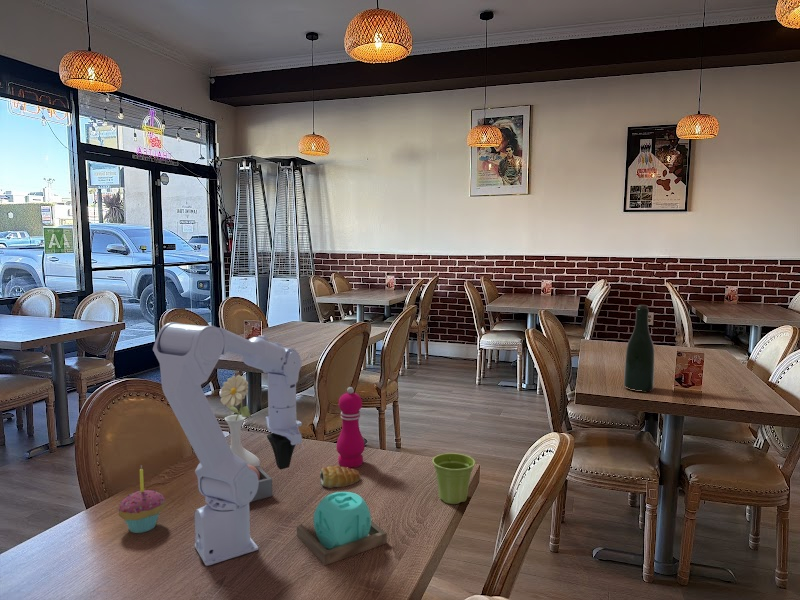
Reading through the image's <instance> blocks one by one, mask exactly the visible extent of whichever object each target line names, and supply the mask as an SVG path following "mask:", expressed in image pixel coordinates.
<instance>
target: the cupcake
mask: <svg viewBox="0 0 800 600" xmlns="http://www.w3.org/2000/svg"><path fill="white" fill-rule="evenodd" d="M144 482H145V481H144V469H143V465H142V464H141V465H140V469H139V488H140V489H139V490H137V491H134V492H132V493H130V494H128V495H127V496H125V497H124V498H123V500H120V502H119V504H118V507H117V509H118V517H120V518H121V519H122V520H124V522H126V524H127V527H128V531H129V532H131V533H134V534H142V533H145V532H149V531H151V530H153V529H154V528H155V527H156V525H157V521H158V519H159V518H158V517H159V515H160V513H161V512H162V511H163V510H164V509H165V507H166V505H167V502H166V497H165V496H164V495H163V494H162V493H160V492H159V491H156V490H153V489H145V486H144V485H145V483H144Z"/></svg>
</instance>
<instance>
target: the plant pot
mask: <svg viewBox="0 0 800 600" xmlns="http://www.w3.org/2000/svg"><path fill="white" fill-rule="evenodd" d="M431 462H432V465H433V466H434V470H435V473H436V481H437V490H438V497H439V498H438V499H439V500H441V501H443V502H444V503H446V504H451V505H458V504H460V503H465V502H466V501H467V499H468V493H469V488H470V487H469V486H470V481H471V480H470V479H471V475H472V471H473V468H474V466H475V465H476V460H475V459H474V458H472V456H469V455H466V454H462V453H455V452H447V453H440V454H438V455H436V456H435V455H434V457H432V461H431Z"/></svg>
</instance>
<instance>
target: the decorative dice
mask: <svg viewBox="0 0 800 600" xmlns="http://www.w3.org/2000/svg"><path fill="white" fill-rule="evenodd" d="M371 521H372V517H371V512H370V508H369V506H368V504H367V503H366V501H365V500H364V498H363V497H362V496H360V495H359V494H357V493H355V492H350V491H336V492H333V493H330V494H328V495H327V494H326V496H324V497H323V498H322V499H321V500H320V501H319V503H318V504H317V506H316V507H315V510H314V513H313V527H314V531H315V535H316V537H317V540H318V541H319V542H320V543H321V544H322V545H323V546H324V547H325V548H326V549H327V550H330V549H333V548H336V547H338V546H341V545H344V544H347V543H350V542H353V541H356V540H359V539H362V538H365V537H368V536H369V531H370V527H371Z"/></svg>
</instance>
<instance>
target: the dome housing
mask: <svg viewBox="0 0 800 600" xmlns="http://www.w3.org/2000/svg"><path fill="white" fill-rule="evenodd" d="M254 467H255V468H256V469H257V470H258V472H259V474H260V480H259V481H258V482H259V484H258V490H257V493H256V495H255V497H254V498H253V499H252V501H251V502H250V503H252V502H255V501H259V500H262V499H266V498H270V497H273V478H272V477H271V476H270V475H269V474H268V473H266V472H265V470H263V468H261V466H254Z"/></svg>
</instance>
